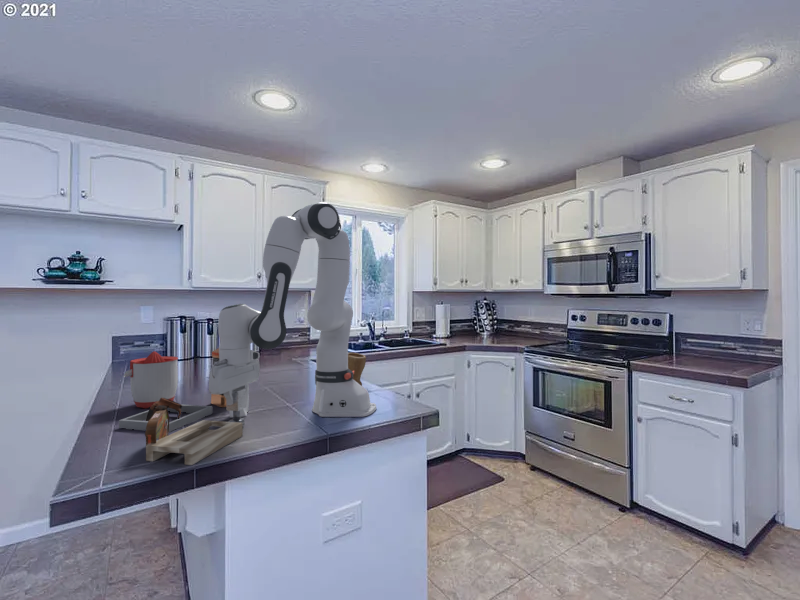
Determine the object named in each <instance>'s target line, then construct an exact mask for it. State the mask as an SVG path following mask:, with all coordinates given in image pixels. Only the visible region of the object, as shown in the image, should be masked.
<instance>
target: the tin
mask: <svg viewBox="0 0 800 600" xmlns="http://www.w3.org/2000/svg"><path fill="white" fill-rule="evenodd" d="M169 422H170V415H169V412H168V411H167V410H163V411H156V412H155V413H154V414H153V416H152V417H151V418H150V420H149V421H148V423H147V426H146V431H145V430H144V431H145V434H144V435H145V446H146V445H148V444H152V443H156V441H157V440H159V439H161V438H164V437H166V436H168V435H169V433H170V432H169Z"/></svg>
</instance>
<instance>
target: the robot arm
mask: <svg viewBox="0 0 800 600" xmlns="http://www.w3.org/2000/svg"><path fill="white" fill-rule="evenodd" d="M310 239H315V241H316V243H317V247H318V255H317V256H318V257H317V273H316V274H317V277H316V284H315V289H314V294H313V297H312V300H311V305H310V307H309V309H308V311H307V315H306V316H307V317H306V318H307V321H308V324H309V326H310V327H312V328H313V329H314V330H317V331H319V332H320V335H319V339H318V343H317V344H316V348H315V351H316V352H315V353H316V354H315V356H316V358H315V359H316V360H315V361H316V362H315V363H316V366H315V368H316V369H315V370H314V371H315V372H314V374H315V375H314V385H315V394H314V400H313V406H312V409H311V411H312V412H313V413H315V414H317V415H318V416H319V417H321V418H322V417H323V418H326V417H327V418H328V417H329V418H330V417H331V418H333V417H335V418H348V417H349V418H352V417H353V418H354V417H355V418H357V417H358V418H361V417H363V418H364V417H367V416H370V415H372V414H373V413H374V412H375V411H376V409H377V404H376V403H375V402H371V398H370V394H369V391H368V390H367V389H366V388H365V387H364V386H363V385H362V386H361V385H360V384H358V383H357V382H356V381H355V380H353V374H354V371H351V370H350V369H349V368H348V353H349V341H350V333H351V328H352V327H351V326H352V320H353V316H354V311H353V308H352V306H351V304H349V303H348V302H347V301H345V295H346V292H347V289H348V286H349V283H350V264H351V263H350V261H351V258H350V257H351V255H350V254H351V252H350V250H351V248H350V240H349V235H348V234H347V232H346V231H345V230H343V229H342V223H341V221H340V214H339V212H338V210H337V209H336V208H335V206H334V205H332V204H330V203H328V202H323V201H322V202H316V203H311V204H308V205H306V206H304V207H303V208H300V209H298V210H296V211H295V212H293V214H292V215H291V216H288V215H280V216H278V217H276V218H275V219H274V221H273V223H272V224H271V226H270V229H269V232H268V235H267V238H266V241H265V245H264V249H263V255H262V268H263V271H264V273H265V276H266V287H265V288H266V289H265V293H264V299H263V302H262V308H261V310H260V311H259V310H256V309H254V308H252V307H250V306H248V305H247V304H245V303H237V304H232V305H228V306H226V307H225V306H224V307H223V308H222V309H221V310H220V312H219V315H218V322H217V323H218V324H217V325H218V326H217V329H218V330H217V332H218V337H219V346H218V348H219V361H217V362H215V363H214V365H213V364H212V366H211V369H210V372H209V378H208V379H209V380H208V392H209V393H210V395H211V394H224V396H225V398H226V402H227V405H232V404H234V403H235V398H233V397H232V395H231V394H232V390H233V389H236V388H246V391H247V388H248V384H252V383H254V382H257V381H259V378H260V361H259V359H260V352H258V351H255V350H252V349H251V344H253V343H254V346H257V347H258V348H260V349H261V350H262V349H263V350H272V349H275V348H278V347H279V346H281V344H282V343H284V340H285V338H286V336H287V325H286V321H285V309H286V305H287V304H286V303H287V299H288V293H289V289H290V284H291V281H292V279H293V276H294V273H295V271H296V269H297V266H298V263H299V259H300V254H301V251H302V250H301V249H302V245H303V243H304V241H305V240H310Z"/></svg>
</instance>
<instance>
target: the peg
mask: <svg viewBox="0 0 800 600" xmlns="http://www.w3.org/2000/svg"><path fill="white" fill-rule="evenodd" d="M231 395H232V397H233V398H235V403H234V404H232V405H227V402H226V407H225V408H226V411H228V412H229V411H233V417H232V418H231V419H229V420H228V422H239V423H242V426H243V427H244V425H245V418H244V417H240V410H241V409H244V408H246V388H236V389H233V390H232V394H231Z"/></svg>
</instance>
